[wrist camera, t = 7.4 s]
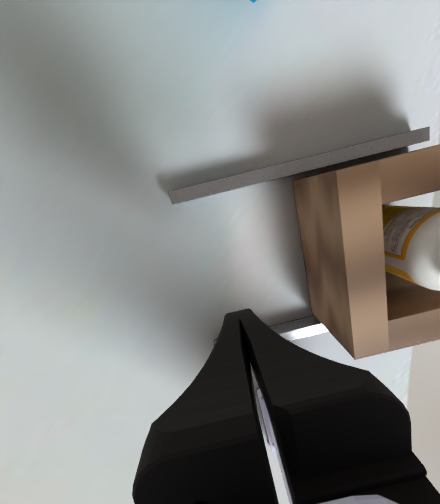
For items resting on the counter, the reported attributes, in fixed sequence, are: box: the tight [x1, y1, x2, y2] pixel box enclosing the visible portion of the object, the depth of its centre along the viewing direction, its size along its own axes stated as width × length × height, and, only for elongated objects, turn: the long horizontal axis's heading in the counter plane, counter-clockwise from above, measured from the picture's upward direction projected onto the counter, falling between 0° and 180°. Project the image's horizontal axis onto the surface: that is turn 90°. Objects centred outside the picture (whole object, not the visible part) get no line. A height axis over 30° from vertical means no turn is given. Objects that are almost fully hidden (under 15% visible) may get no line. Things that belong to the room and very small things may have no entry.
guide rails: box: [169, 127, 429, 346], centre depth 19 cm, size 16×21×2 cm
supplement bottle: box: [382, 205, 440, 291], centre depth 15 cm, size 5×5×10 cm
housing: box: [293, 145, 440, 360], centre depth 17 cm, size 13×10×6 cm
